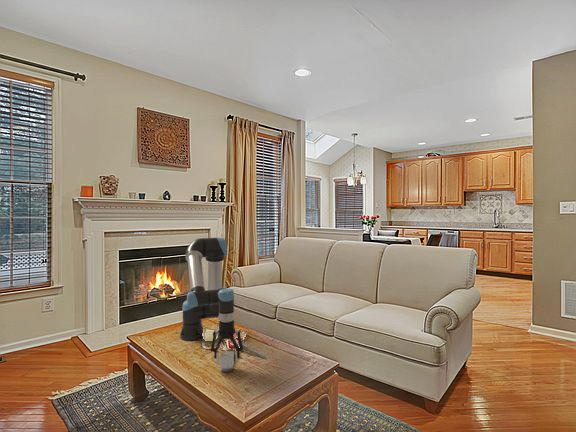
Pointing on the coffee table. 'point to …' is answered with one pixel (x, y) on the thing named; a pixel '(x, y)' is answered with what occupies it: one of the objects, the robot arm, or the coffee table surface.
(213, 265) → the robot arm
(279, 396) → the coffee table surface
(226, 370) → the ratchet
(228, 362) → the socket
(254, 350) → the caliper
